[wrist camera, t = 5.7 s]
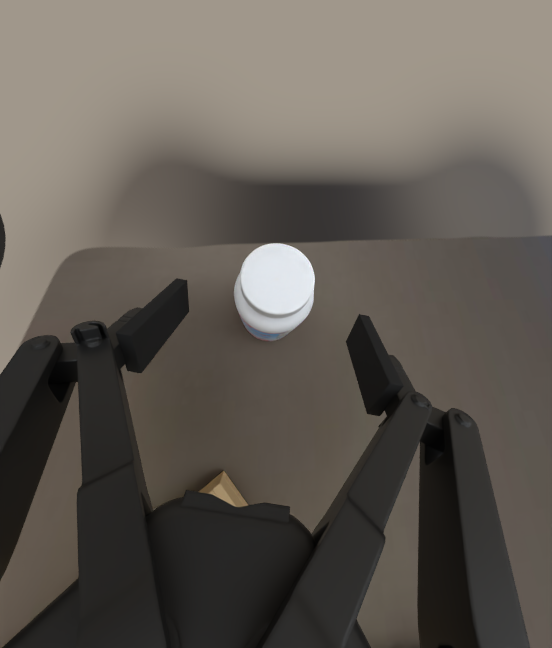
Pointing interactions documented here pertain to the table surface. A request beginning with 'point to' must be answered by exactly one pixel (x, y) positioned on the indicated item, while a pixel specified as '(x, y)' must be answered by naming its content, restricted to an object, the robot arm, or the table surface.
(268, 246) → the pill bottle
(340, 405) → the table surface
